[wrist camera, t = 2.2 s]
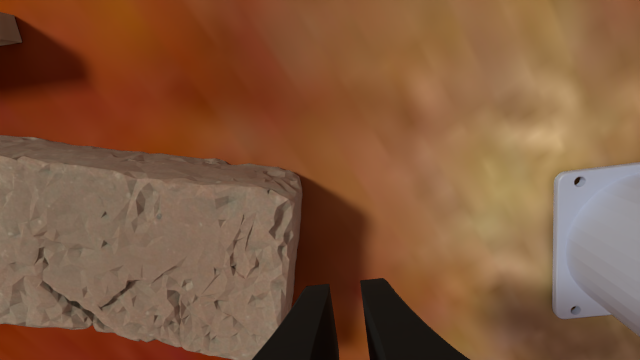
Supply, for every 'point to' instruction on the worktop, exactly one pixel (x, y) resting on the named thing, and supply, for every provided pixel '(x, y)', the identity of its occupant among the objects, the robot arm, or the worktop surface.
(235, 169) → the brick
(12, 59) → the worktop surface
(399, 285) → the worktop surface
